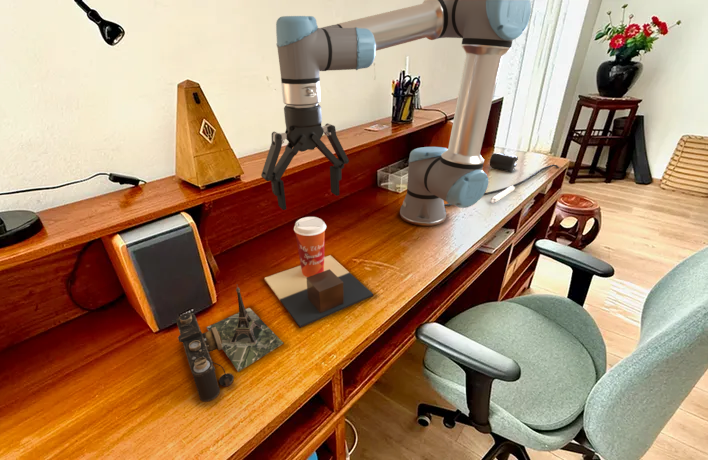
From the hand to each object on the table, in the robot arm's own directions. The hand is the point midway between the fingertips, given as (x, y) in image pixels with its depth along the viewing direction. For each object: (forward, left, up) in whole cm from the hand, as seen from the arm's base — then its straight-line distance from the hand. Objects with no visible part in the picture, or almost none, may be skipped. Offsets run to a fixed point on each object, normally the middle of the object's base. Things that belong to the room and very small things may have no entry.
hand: (309, 200), depth 84 cm
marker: (-81, -4, -21) cm, 84 cm away
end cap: (-108, -24, -21) cm, 112 cm away
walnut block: (+3, +12, -20) cm, 23 cm away
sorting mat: (+2, +6, -20) cm, 21 cm away
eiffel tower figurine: (+22, +12, -21) cm, 33 cm away
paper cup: (0, 0, -20) cm, 20 cm away
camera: (+30, +15, -21) cm, 40 cm away
